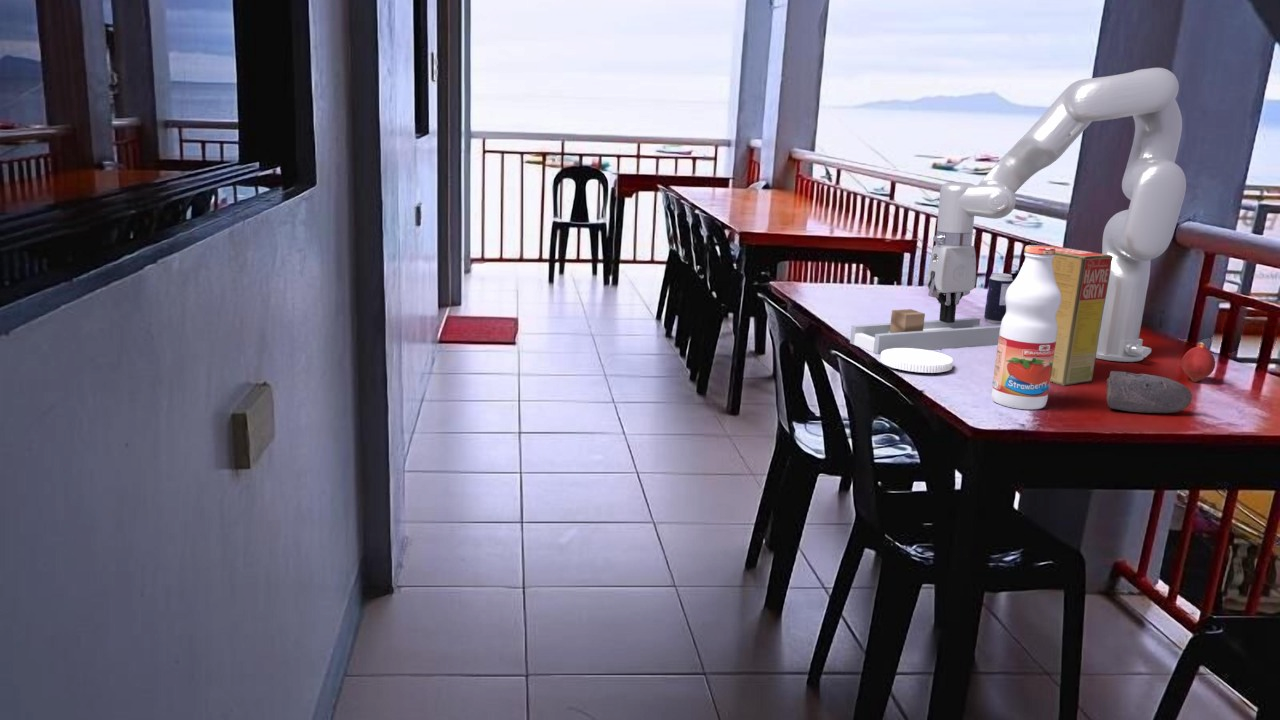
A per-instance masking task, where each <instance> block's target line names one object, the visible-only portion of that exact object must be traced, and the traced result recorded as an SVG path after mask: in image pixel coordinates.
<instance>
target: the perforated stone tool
mask: <svg viewBox="0 0 1280 720" xmlns="http://www.w3.org/2000/svg"><path fill="white" fill-rule="evenodd" d="M1105 392H1106V402H1107V405H1108V407H1109V408H1110V409H1113V410H1118V411H1123V412H1130V413H1140V414H1141V413H1142V414H1143V413H1144V414H1172V413H1177V412H1181V411H1183V410H1185V409H1187V408H1188V407H1189V405H1191V402H1192V400H1193V399H1192V398H1193V394H1192V391H1191V390H1190V389H1189V388H1188V387H1187V386H1185V385H1184V384H1183V383H1181V382H1178V381H1176V380H1173V379H1170V378H1167V377H1163V376H1160V375H1159V376H1158V375H1154V374H1152V375H1151V374H1147V373H1138V374H1137V373H1133V372H1127V371H1119V370H1118V371H1117V370H1111V371H1110V373H1109V377H1108V378H1107V379H1106V389H1105Z"/></svg>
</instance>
